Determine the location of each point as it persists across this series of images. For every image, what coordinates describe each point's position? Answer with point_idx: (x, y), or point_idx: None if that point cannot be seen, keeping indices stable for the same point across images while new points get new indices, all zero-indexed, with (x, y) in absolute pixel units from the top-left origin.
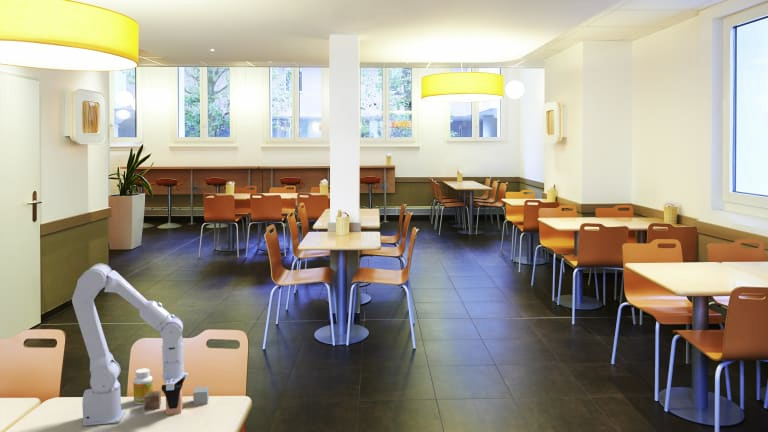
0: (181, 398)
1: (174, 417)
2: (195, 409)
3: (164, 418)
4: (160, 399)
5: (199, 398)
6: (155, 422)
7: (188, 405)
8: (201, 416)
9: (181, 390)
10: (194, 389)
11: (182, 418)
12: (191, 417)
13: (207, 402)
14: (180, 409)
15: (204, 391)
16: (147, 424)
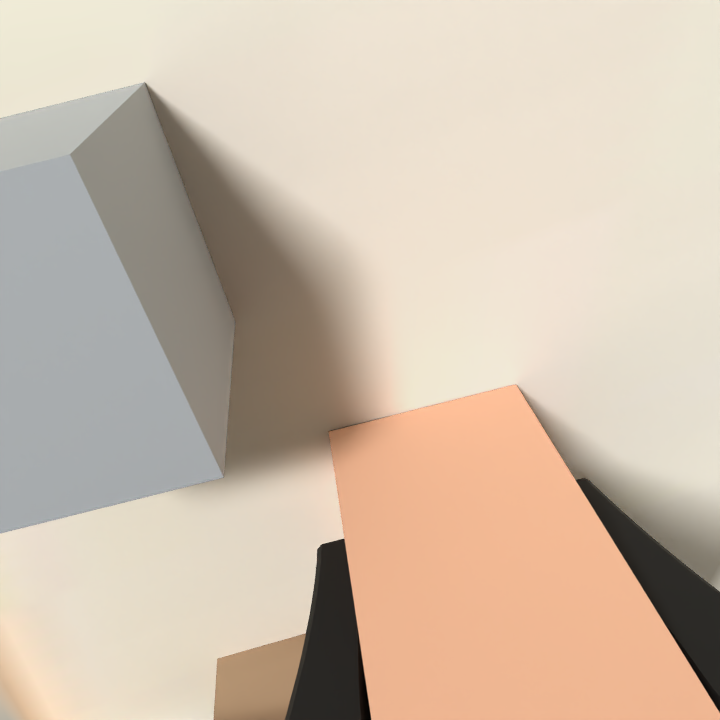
0: (472, 551)
1: (623, 408)
2: (396, 234)
3: (620, 490)
4: (248, 709)
5: (185, 285)
6: (693, 523)
7: (245, 390)
8: (714, 12)
9: (486, 707)
10: (13, 524)
11: (686, 305)
12: (696, 188)
13: (116, 93)
14: (538, 423)
15: (79, 246)
16: (713, 560)
